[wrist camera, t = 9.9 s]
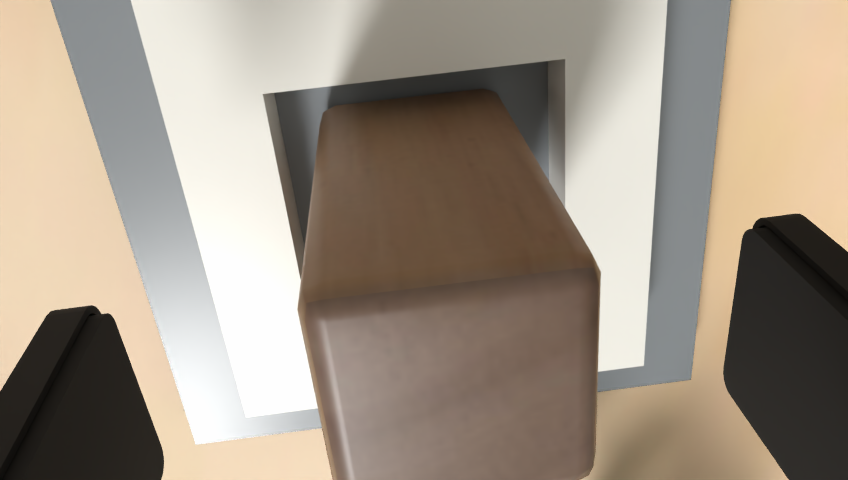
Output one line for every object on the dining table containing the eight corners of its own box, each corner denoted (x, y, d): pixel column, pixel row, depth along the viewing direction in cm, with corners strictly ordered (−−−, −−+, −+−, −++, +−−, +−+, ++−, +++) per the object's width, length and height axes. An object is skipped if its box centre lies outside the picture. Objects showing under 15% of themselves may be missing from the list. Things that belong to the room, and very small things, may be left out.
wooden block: (505, 240, 18) (602, 490, 11) (343, 259, 18) (337, 525, 11) (498, 81, 16) (611, 260, 9) (317, 101, 16) (289, 300, 9)
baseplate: (34, -117, 14) (-24, -110, 12) (727, -190, 15) (793, -197, 13) (202, 419, 21) (184, 486, 19) (677, 358, 22) (714, 415, 19)
